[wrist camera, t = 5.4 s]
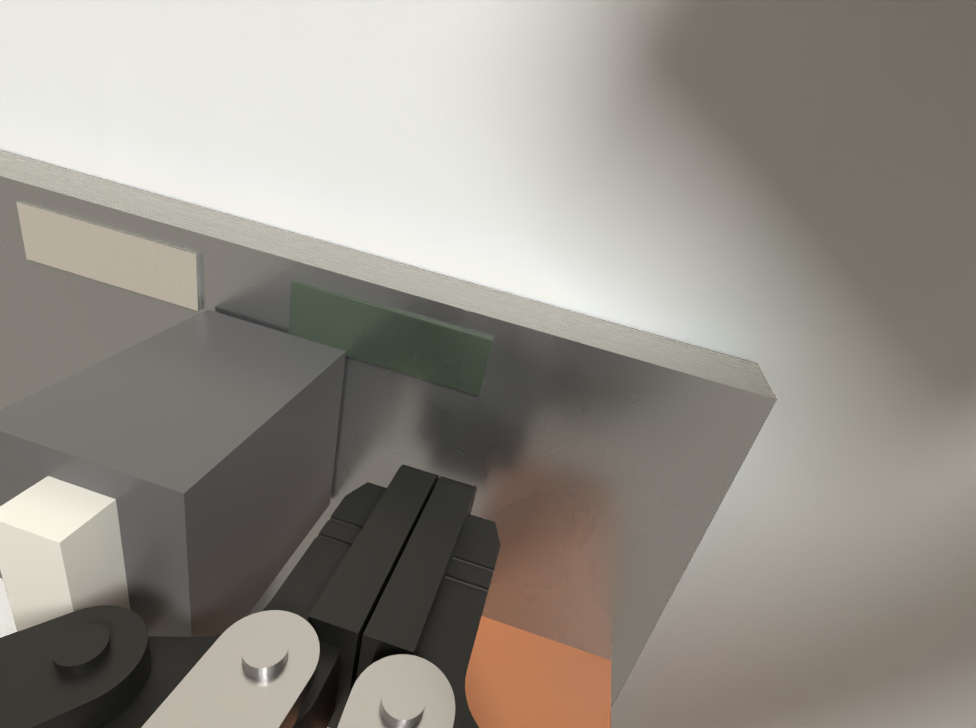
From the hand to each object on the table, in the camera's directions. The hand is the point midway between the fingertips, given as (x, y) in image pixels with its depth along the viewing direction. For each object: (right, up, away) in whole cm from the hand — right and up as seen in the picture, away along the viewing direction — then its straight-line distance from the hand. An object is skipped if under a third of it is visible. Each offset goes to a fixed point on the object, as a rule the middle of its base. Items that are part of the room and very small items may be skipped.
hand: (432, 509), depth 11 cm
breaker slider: (-4, +2, +1) cm, 4 cm away
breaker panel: (-5, 0, +4) cm, 6 cm away
